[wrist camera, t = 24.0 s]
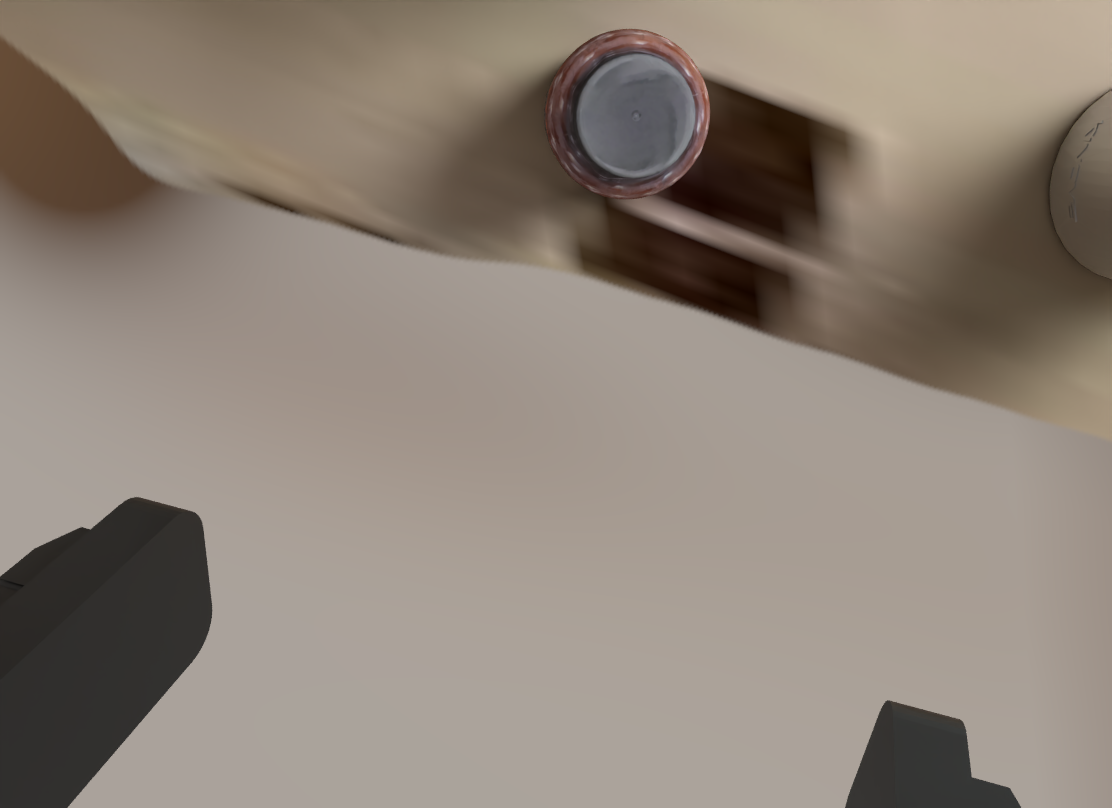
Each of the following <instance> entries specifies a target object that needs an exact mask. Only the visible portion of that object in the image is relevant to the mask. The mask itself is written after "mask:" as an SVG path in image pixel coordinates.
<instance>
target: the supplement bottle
mask: <svg viewBox="0 0 1112 808" xmlns="http://www.w3.org/2000/svg"><path fill="white" fill-rule="evenodd" d="M544 112H545V114H544V117H545V130H546V133H547V137H548V141H549V143H550V146H551V149H552V151H553V153H554V155H555V156H556V158H557V160H558V161H559V163H560V164H561V166H562V167H563V168H564V170H565V171H566V172H567V173H568V175H569V176H570V177H571V178H573V179H574V180H575V181H576V182H577V183H579V184H580V185H582V186H583V187H585V188H586V189H588V190H590V191H592V192H594V193H597V194H599V195H602V196H605V197H609V198H615V199H636V198H642V197H646V196H651V195H653V194H656V193H659V192H661V191H662V190H664V189H666V188H668V187H669V186H671V185H673V184H674V183H675V182H676V181H677V180H679V179H680V178H681V177H682V176H683V175H684V174H685V173H686V172H687V171H688V170H689V169H690V168H691V166H692V165H693V164H694V162H695V160H696V159H697V157H698V156H699V154H700V152H701V150H702V148H703V145H704V143H705V140H706V137H707V133H708V126H709V120H710V103H709V96H708V92H707V88H706V85H705V82H704V80H703V77H702V75H701V73H700V71H699V70H698V68H697V66H696V65H695V63H694V62H693V60H692V59H691V58H690V57H689V56H688V55H687V54H686V53H685V52H684V51H683V50H682V49H681V48H680V47H679V46H677V45H676V44H675V43H673V42H671V41H670V40H668V39H667V38H665V37H662V36H660V35H658V34H656V33H653V32H649V31H646V30H639V29H621V30H614V31H610V32H606V33H603V34H600V35H598V36H596V37H594V38H592V39H590V40H588V41H587V42H585V43H584V44H582V45H581V46H580V47H579V48H577V49H576V50H575V51H574V52H573V53H572V54H571V55H570V56H569V57H568V58H567V59H566V61H565V62H564V63H563V64H562V66H561V67H560V69H559V70H558V72H557V73H556V75H555V77H554V79H553V81H552V83H551V85H550V88H549V91H548V93H547V97H546V102H545V108H544Z"/></svg>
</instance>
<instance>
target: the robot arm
mask: <svg viewBox="0 0 1112 808" xmlns="http://www.w3.org/2000/svg"><path fill="white" fill-rule="evenodd" d="M1049 192H1050V211H1051V215H1052V219H1053V222H1054V226H1055V229H1056V232H1057V234H1058V236H1059V238H1060V239H1061V241H1062V243H1063V245H1064V247H1065V248H1066V250H1067V251H1068V252H1069V253H1070V254H1071V255H1072V256H1073V257H1074V258H1075V259H1076V260H1077V261H1078V262H1079V263H1080V264H1081V265H1083V266H1084V267H1086V268H1087V269H1089V270H1091V271H1092V272H1094V273H1095V274H1098V275H1101V276H1104V277H1107V278H1109V279H1112V90H1111V91H1109V92H1107V93H1106V94H1105V95H1104V96H1102V97H1101V98H1100V99H1099V100H1097V101H1096V102H1095V103H1094V104H1092V105H1091V106H1090V107H1089V108H1088V109H1087V110H1086V111H1085V112H1084V113H1083V115H1082V116H1081V117H1080V118H1079V119H1078V120H1077V122H1076V123H1075V124H1074V125H1073V126H1072V128H1071V130H1070V131H1069V133H1068V135H1067V137H1066V138H1065V140H1064V142H1063V143H1062V145H1061V147H1060V150H1059V152H1058V155H1057V158H1056V161H1055V164H1054V166H1053V170H1052V177H1051V183H1050V190H1049ZM211 618H212V601H211V594H210V583H209V575H208V566H207V557H206V548H205V540H204V531H203V525H202V521H201V519H200V517H199V516H198V515H197V514H196V513H195V512H192V511H188V510H184V509H181V508H177V507H173V506H170V505H166V504H162V503H158V502H155V501H151V500H147V499H143V498H139V497H135V498H130V499H128V500H126V501H124V502H123V503H122V504H120V505H119V506H118V507H117V508H116V509H114V510H113V511H112V512H111V513H110V514H109V515H107V516H106V517H105V518H104V519H103V520H101V521H100V522H99V523H98V524H97V525H95V526H94V527H93V528H92V529H91V530H90V529H86V528H83V527H82V528H79V529H76V530H74V531H72V532H70V533H68V534H66V535H63V536H61V537H59V538H57V539H55V540H52V541H50V542H48V543H46V544H44V545H41V546H39V547H37V548H35V549H34V550H32V551H31V552H30V553H29V554H28V555H26V556H25V557H24V558H23V559H21V560H20V561H19V562H18V563H17V564H15V565H14V566H13V567H12V568H10V569H9V570H8V571H7V572H5V573H4V574H3V575H2V576H1V577H0V808H67V807H68V806H69V805H70V804H71V803H72V801H73V800H74V799H75V798H76V797H77V795H78V794H79V793H80V792H81V791H82V790H83V788H84V787H85V786H86V785H87V784H88V782H89V781H90V780H91V779H92V778H93V777H94V776H95V775H96V773H97V772H98V771H99V770H100V769H101V767H102V766H103V765H104V764H105V763H106V762H107V761H108V759H109V758H110V757H111V756H112V755H113V754H114V752H115V751H116V750H117V749H118V748H119V747H120V745H121V744H122V743H123V742H124V741H125V739H126V738H127V737H128V736H129V735H130V734H131V733H132V731H133V730H134V729H135V728H136V727H137V726H138V724H139V723H140V722H141V721H142V720H143V719H144V717H145V716H146V715H147V714H148V713H149V712H150V710H151V709H152V708H153V707H154V706H155V705H156V703H157V702H158V701H159V700H160V699H161V697H162V696H163V695H164V694H165V693H166V692H167V691H168V689H169V688H170V687H171V686H172V685H173V683H174V682H175V681H176V680H177V679H178V678H179V676H180V675H181V674H182V673H183V672H184V671H185V670H186V668H187V667H188V666H189V665H190V664H191V663H192V661H193V660H194V659H195V657H196V656H197V654H198V653H199V651H200V650H201V648H202V646H203V644H204V642H205V639H206V637H207V634H208V631H209V627H210V624H211ZM845 808H1021V806H1020V805H1019V803H1018V801H1017V800H1016V798H1015V797H1014V795H1013V793H1012V791H1011V789H1010V788H1008V787H1004V786H1000V785H997V784H994V783H990V782H986V781H983V780H979V779H976V778H972V777H971V768H970V759H969V751H968V742H967V735H966V729H965V726H964V723H963V722H962V721H961V720H960V719H956V718H952V717H949V716H945V715H941V714H937V713H934V712H930V711H926V710H923V709H919V708H915V707H911V706H907V705H904V704H900V703H896V702H892V701H886V702H885V703H884V705H883V706H882V708H881V711H880V713H879V716H878V718H877V721H876V723H875V726H874V730H873V732H872V735H871V737H870V739H869V742H868V745H867V747H866V750H865V753H864V755H863V758H862V761H861V763H860V766H859V769H858V771H857V774H856V777H855V779H854V782H853V785H852V787H851V790H850V793H849V796H848V799H847V803H846V807H845Z"/></svg>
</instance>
